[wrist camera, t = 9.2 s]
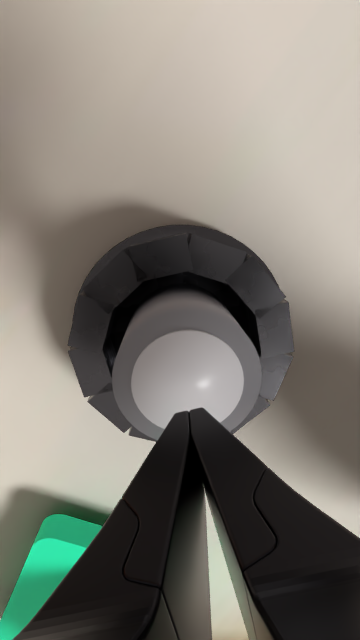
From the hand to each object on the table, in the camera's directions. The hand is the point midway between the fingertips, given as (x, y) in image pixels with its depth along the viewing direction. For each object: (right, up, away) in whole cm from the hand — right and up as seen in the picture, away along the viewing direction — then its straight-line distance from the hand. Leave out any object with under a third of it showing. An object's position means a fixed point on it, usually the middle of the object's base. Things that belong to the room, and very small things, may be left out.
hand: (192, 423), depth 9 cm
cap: (0, +2, +7) cm, 7 cm away
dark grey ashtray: (0, +2, +8) cm, 8 cm away
